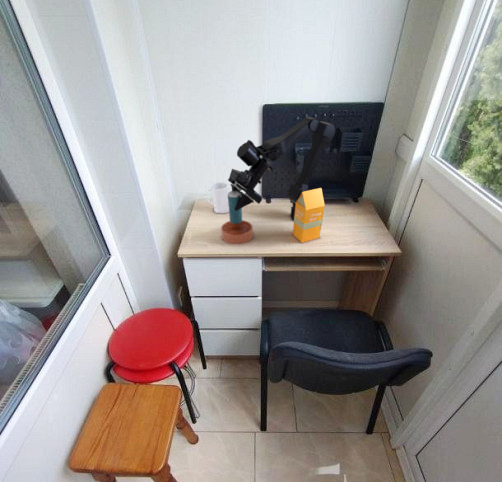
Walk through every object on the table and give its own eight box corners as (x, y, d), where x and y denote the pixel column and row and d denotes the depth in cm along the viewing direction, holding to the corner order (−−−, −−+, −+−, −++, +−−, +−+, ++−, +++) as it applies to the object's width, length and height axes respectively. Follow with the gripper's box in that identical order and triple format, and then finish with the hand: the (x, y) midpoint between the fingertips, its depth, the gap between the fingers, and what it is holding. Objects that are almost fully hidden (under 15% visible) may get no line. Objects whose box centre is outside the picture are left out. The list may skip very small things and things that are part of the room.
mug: (205, 213, 139) (202, 188, 130) (209, 205, 145) (206, 181, 136) (229, 213, 138) (227, 189, 129) (231, 205, 144) (230, 182, 135)
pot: (252, 228, 127) (252, 219, 124) (252, 244, 117) (252, 235, 114) (223, 229, 127) (222, 220, 124) (221, 245, 118) (220, 235, 114)
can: (242, 217, 119) (241, 190, 111) (242, 223, 116) (240, 196, 108) (230, 217, 119) (228, 190, 111) (229, 223, 116) (227, 196, 108)
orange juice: (292, 234, 123) (296, 188, 109) (309, 229, 126) (316, 184, 112) (301, 242, 118) (307, 195, 104) (319, 237, 120) (327, 191, 106)
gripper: (230, 153, 109) (207, 188, 113) (254, 167, 97) (228, 206, 101) (248, 170, 117) (227, 202, 121) (273, 186, 105) (248, 220, 109)
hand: (232, 207), depth 113 cm, fingers closed on can, 5 cm apart
